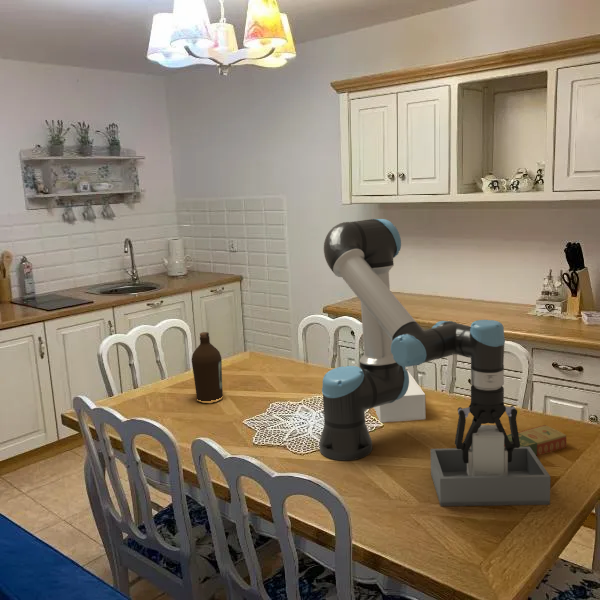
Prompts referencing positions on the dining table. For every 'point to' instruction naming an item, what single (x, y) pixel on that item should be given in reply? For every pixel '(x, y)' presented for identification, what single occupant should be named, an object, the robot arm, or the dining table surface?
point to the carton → (541, 439)
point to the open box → (490, 481)
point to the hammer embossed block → (404, 405)
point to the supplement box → (487, 451)
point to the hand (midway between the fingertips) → (486, 474)
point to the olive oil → (207, 370)
